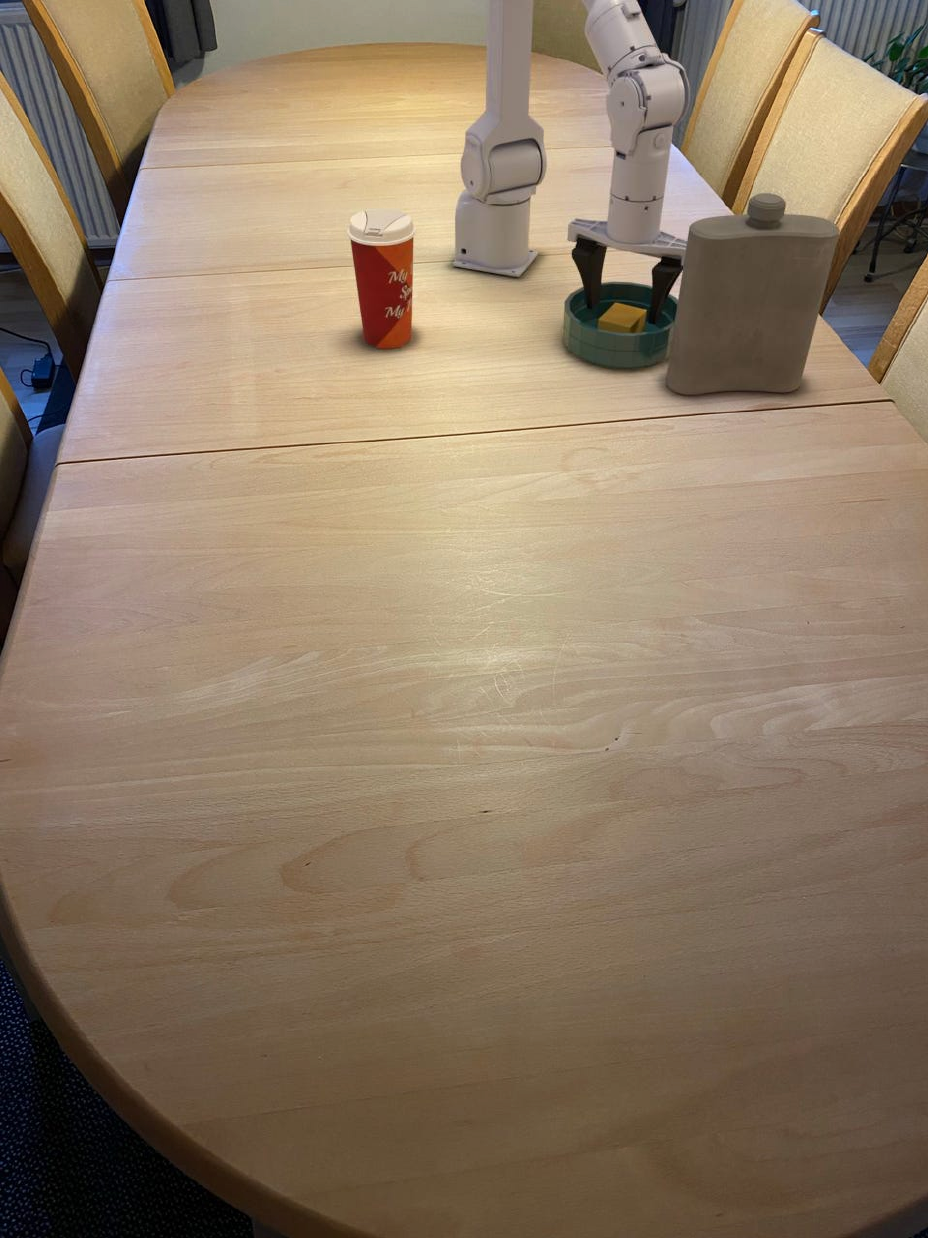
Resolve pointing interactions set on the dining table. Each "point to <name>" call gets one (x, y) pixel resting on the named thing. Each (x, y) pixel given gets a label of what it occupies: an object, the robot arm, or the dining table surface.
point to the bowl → (611, 345)
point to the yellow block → (623, 319)
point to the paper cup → (384, 274)
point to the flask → (749, 299)
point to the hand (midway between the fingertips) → (623, 312)
